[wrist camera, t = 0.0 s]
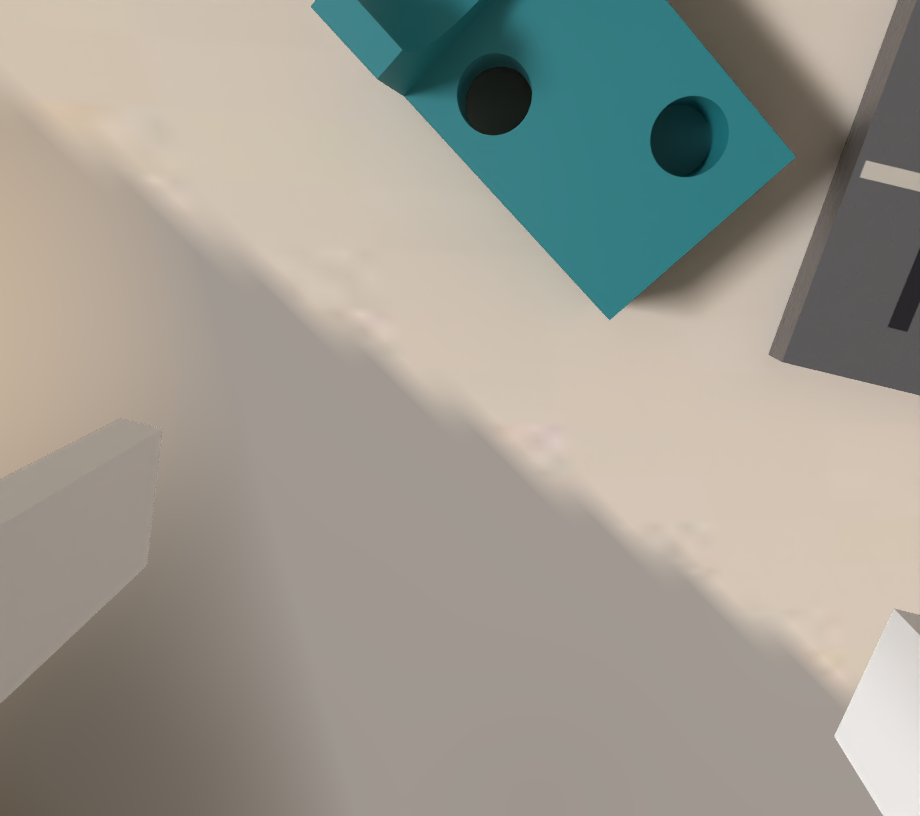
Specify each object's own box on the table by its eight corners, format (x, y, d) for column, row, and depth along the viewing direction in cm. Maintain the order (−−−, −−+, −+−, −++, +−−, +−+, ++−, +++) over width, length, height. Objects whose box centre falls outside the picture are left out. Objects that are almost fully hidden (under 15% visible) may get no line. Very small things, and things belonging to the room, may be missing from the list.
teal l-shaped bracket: (374, 55, 36) (310, 6, 26) (525, -122, 33) (517, -253, 23) (601, 303, 39) (620, 343, 29) (762, 161, 36) (845, 151, 26)
